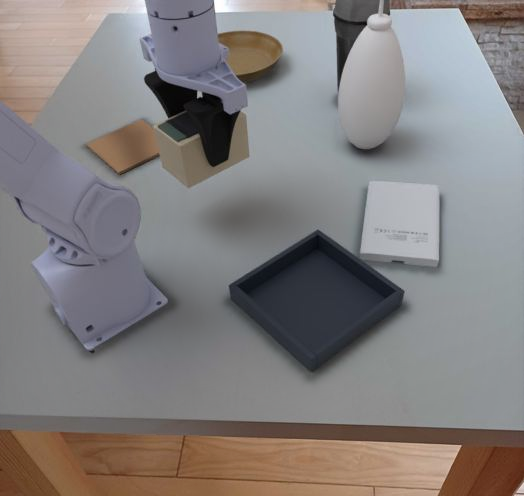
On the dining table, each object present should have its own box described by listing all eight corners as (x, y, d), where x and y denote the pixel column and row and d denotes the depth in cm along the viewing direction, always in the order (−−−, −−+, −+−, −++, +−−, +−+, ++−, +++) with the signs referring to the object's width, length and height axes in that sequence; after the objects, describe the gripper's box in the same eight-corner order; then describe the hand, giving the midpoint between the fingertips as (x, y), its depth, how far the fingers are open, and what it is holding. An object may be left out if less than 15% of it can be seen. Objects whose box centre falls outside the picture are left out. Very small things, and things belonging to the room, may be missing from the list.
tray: (311, 375, 48) (311, 359, 46) (230, 301, 54) (228, 285, 52) (401, 307, 52) (405, 290, 50) (317, 246, 58) (318, 229, 56)
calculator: (188, 188, 53) (179, 144, 49) (162, 167, 56) (151, 123, 52) (249, 157, 56) (246, 112, 52) (222, 138, 58) (216, 94, 54)
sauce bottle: (327, 135, 71) (335, -19, 56) (381, 124, 72) (403, -30, 57) (347, 167, 66) (361, 10, 52) (404, 156, 67) (434, -3, 53)
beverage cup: (388, 106, 74) (413, -67, 58) (342, 118, 73) (355, -55, 57) (364, 83, 78) (381, -85, 62) (320, 95, 77) (325, -73, 61)
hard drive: (437, 196, 62) (436, 270, 55) (367, 191, 63) (358, 262, 56) (440, 185, 61) (440, 259, 54) (369, 179, 62) (359, 251, 55)
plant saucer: (227, 102, 77) (226, 85, 75) (173, 68, 84) (170, 51, 82) (302, 68, 82) (302, 50, 80) (245, 38, 89) (243, 22, 87)
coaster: (119, 175, 68) (118, 172, 68) (86, 146, 72) (85, 144, 72) (176, 147, 71) (175, 144, 71) (141, 121, 75) (141, 119, 75)
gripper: (271, 15, 42) (277, 165, 52) (173, -30, 49) (196, 109, 60) (199, 45, 39) (221, 195, 50) (106, -8, 46) (143, 134, 57)
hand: (203, 150), depth 55 cm, fingers closed on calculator, 5 cm apart
